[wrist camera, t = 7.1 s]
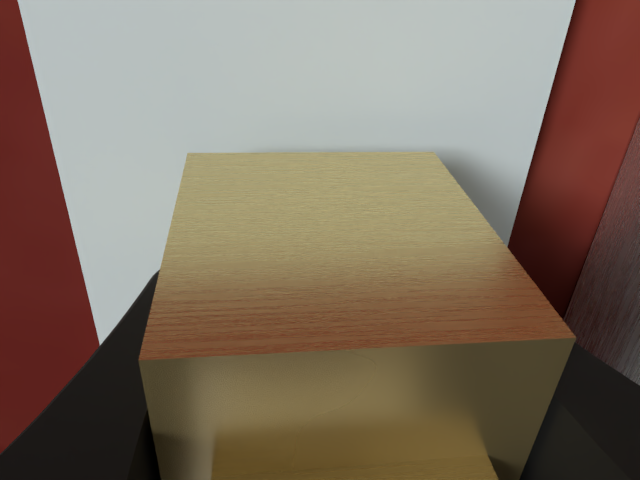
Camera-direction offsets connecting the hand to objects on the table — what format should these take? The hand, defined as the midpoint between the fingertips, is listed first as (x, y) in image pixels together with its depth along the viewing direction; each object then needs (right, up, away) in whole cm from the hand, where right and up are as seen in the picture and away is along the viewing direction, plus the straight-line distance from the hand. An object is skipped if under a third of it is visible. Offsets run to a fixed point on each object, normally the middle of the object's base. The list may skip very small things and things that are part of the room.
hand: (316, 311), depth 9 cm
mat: (0, +1, +2) cm, 3 cm away
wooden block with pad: (0, +1, +1) cm, 1 cm away
